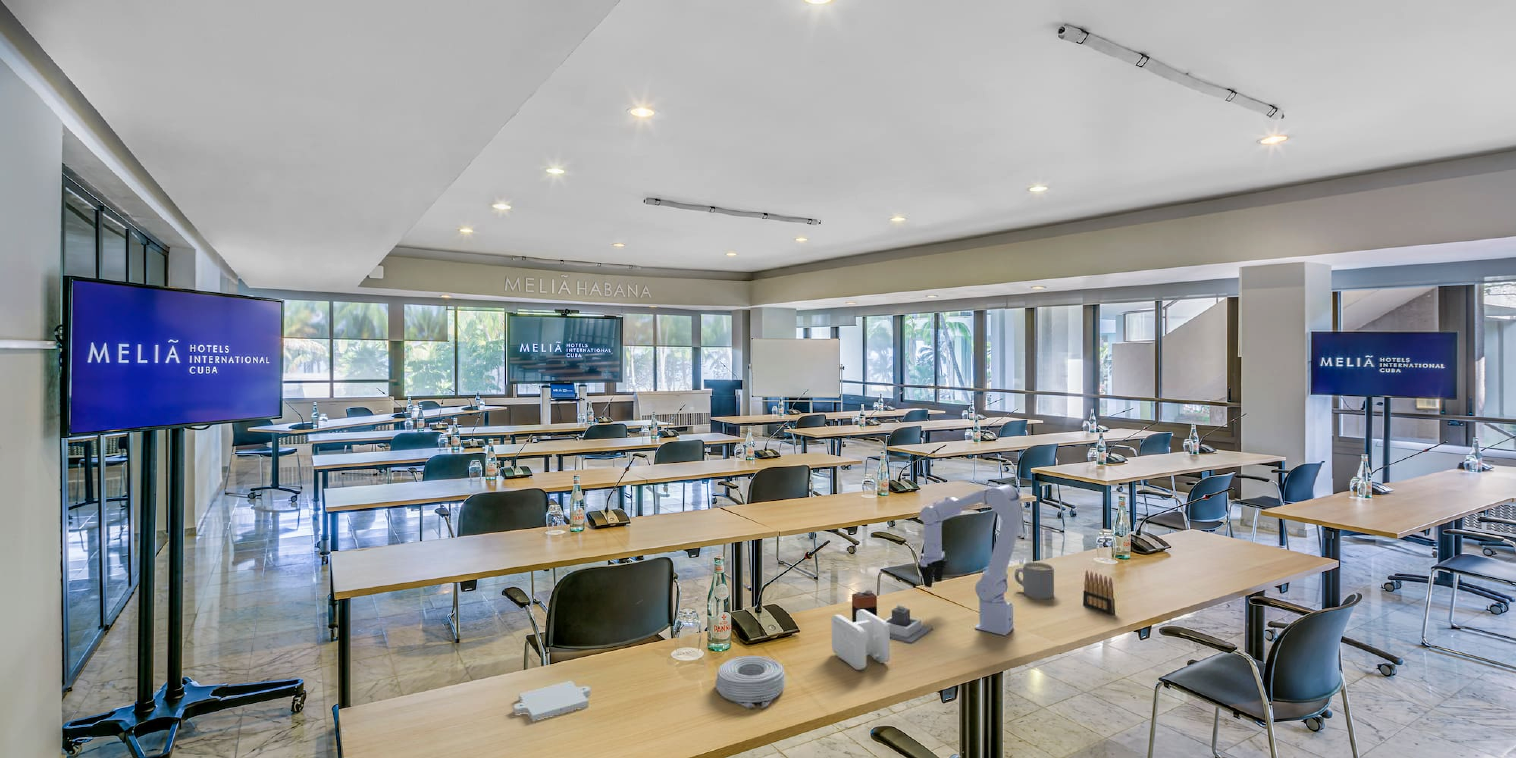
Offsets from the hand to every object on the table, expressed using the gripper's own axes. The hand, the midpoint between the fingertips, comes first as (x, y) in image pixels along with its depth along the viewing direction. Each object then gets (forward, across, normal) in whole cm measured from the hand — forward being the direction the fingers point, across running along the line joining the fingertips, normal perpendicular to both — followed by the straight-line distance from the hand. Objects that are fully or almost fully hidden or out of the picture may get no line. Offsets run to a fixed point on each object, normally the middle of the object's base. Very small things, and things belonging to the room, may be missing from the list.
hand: (933, 583), depth 223 cm
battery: (+10, +22, -13) cm, 27 cm away
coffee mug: (+10, -40, +20) cm, 46 cm away
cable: (+10, +79, -13) cm, 80 cm away
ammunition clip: (+10, -35, +42) cm, 56 cm away
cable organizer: (+10, +47, 0) cm, 48 cm away
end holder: (+9, +21, -1) cm, 23 cm away
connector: (+9, +21, -1) cm, 23 cm away
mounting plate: (+10, +113, -46) cm, 122 cm away
